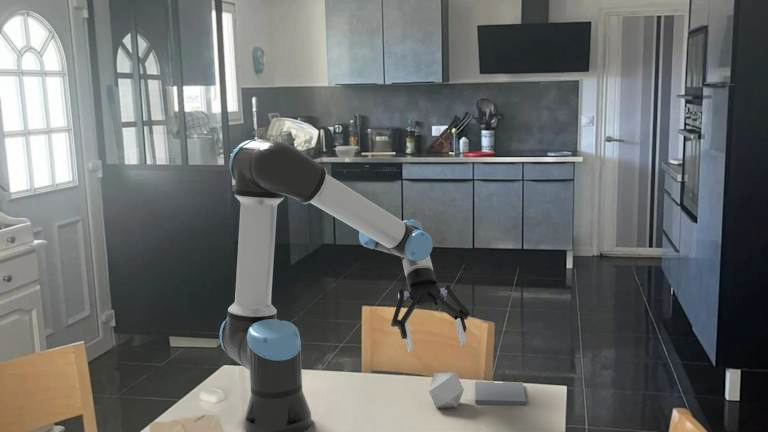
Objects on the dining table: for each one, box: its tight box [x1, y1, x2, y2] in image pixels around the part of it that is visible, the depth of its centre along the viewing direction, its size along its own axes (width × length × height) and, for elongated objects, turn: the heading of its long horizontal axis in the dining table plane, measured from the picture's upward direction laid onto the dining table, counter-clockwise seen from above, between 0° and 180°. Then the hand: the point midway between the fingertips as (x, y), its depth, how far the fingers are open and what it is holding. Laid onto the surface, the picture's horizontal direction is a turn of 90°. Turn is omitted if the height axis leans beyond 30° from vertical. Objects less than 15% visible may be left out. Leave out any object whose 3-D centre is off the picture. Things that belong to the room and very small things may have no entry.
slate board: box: [474, 380, 527, 406], centre depth 193 cm, size 12×12×1 cm
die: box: [427, 371, 465, 409], centre depth 187 cm, size 8×9×10 cm
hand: (437, 346), depth 193 cm, fingers open, 13 cm apart
